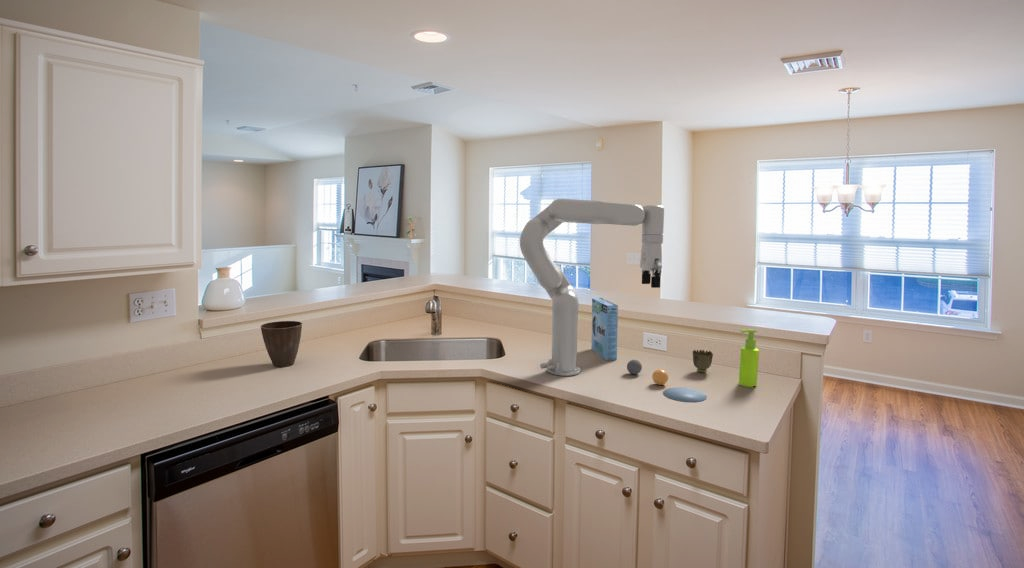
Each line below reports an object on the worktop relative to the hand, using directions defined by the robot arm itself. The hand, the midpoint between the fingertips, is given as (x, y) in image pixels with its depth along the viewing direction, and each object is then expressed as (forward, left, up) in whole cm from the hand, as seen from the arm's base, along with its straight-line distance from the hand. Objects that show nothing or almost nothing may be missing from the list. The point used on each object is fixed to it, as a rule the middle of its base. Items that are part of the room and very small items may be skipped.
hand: (650, 285), depth 206 cm
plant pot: (-121, +73, -34) cm, 145 cm away
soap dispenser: (+23, -25, -34) cm, 48 cm away
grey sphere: (-5, +2, -31) cm, 31 cm away
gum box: (+2, +30, -34) cm, 46 cm away
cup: (+20, -7, -34) cm, 40 cm away
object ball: (-5, -12, -31) cm, 33 cm away
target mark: (-5, -24, -34) cm, 42 cm away
